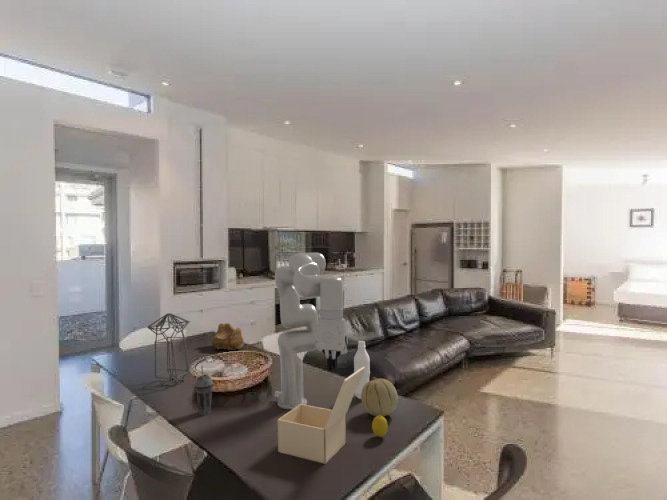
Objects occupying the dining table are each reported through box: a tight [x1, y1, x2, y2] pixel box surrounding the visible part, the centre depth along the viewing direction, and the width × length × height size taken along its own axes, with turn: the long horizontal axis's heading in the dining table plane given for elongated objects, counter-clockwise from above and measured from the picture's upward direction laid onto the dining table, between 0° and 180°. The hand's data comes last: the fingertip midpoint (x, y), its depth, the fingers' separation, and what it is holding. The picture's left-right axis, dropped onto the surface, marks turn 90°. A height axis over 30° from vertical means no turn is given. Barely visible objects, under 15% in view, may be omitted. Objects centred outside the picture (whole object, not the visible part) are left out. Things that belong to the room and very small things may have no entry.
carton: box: [276, 404, 347, 465], centre depth 150 cm, size 18×15×11 cm
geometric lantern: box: [147, 312, 191, 385], centre depth 219 cm, size 16×16×35 cm
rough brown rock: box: [211, 322, 245, 351], centre depth 284 cm, size 23×17×15 cm
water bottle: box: [353, 340, 371, 400], centre depth 196 cm, size 7×7×25 cm
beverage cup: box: [194, 365, 214, 416], centre depth 181 cm, size 7×7×20 cm
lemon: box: [371, 415, 389, 438], centre depth 157 cm, size 6×6×8 cm
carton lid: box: [325, 367, 365, 430], centre depth 144 cm, size 18×15×1 cm
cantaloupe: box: [360, 376, 399, 417], centre depth 176 cm, size 15×15×15 cm
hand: (332, 369), depth 146 cm, fingers closed
